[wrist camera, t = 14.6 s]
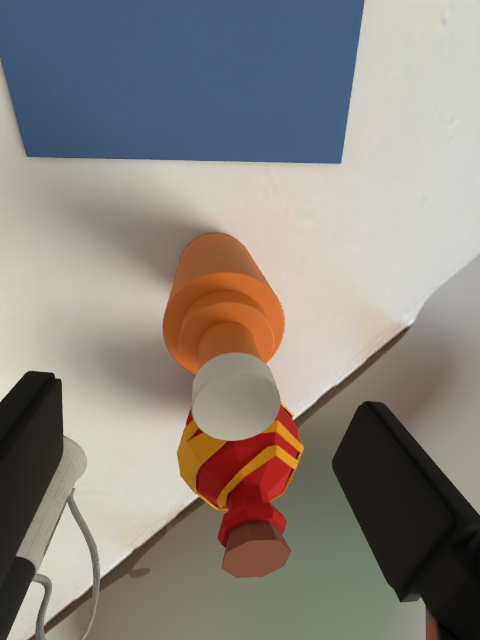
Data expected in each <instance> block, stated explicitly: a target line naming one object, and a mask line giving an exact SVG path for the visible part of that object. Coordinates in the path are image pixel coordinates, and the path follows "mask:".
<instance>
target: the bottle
mask: <svg viewBox="0 0 480 640" xmlns="http://www.w3.org/2000/svg"><path fill="white" fill-rule="evenodd" d="M284 327H285V319H284V313H283V309H282V306H281V304H280V302H279V300H278V298H277V296H276V295H275V293H274V292H273V290H272V288H271V287H270V285H269V284H268V282H267V281H266V279H265V277H264V276H263V274H262V273H261V271H260V270H259V268H258V266H257V265H256V263H255V262H254V260H253V259H252V257H251V255H250V254H249V252H248V251H247V249H246V248H245V246H244V245H243V244H242V243H241V242H239V241H238V240H237V239H235V238H233V237H231V236H229V235H226V234H221V233H210V234H205V235H202V236H200V237H198V238H196V239H195V240H193V241H192V242H191V243H190V244H189V245H188V246H187V247H186V248H185V250H184V251H183V253H182V256H181V258H180V262H179V265H178V269H177V272H176V276H175V279H174V283H173V286H172V290H171V293H170V296H169V300H168V303H167V307H166V310H165V314H164V319H163V336H164V340H165V344H166V346H167V348H168V350H169V352H170V354H171V355H172V357H173V358H174V359H175V360H176V361H177V362H178V363H179V364H180V365H181V366H182V367H183V368H185V369H186V370H187V371H189V372H191V373H193V374H195V375H196V376H195V378H194V381H193V388H192V416H193V419H194V421H195V423H196V424H197V426H198V427H199V428H200V429H201V430H202V431H203V432H204V433H206V434H208V435H209V436H211V437H214V438H217V439H221V440H227V441H236V440H243V439H247V438H250V437H253V436H255V435H258V434H259V433H261V432H263V431H264V430H265V429H267V428H268V427H269V426H270V425H271V424H272V423H273V421H274V420H275V419H276V417H277V415H278V412H279V409H280V395H279V392H278V389H277V386H276V384H275V381H274V378H273V375H272V373H271V370H270V369H269V367H268V366H267V365H266V363H267V362H268V361H269V360H270V359H271V358H272V357H273V355H274V354H275V353H276V351H277V349H278V348H279V346H280V343H281V341H282V338H283V334H284Z"/></svg>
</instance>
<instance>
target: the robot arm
mask: <svg viewBox="0 0 480 640" xmlns="http://www.w3.org/2000/svg"><path fill="white" fill-rule="evenodd" d="M63 449H64V446H63V413H62V383H61V379H55V375H54V373H49V372H38V371H28V372H27V373H25V374H24V376H23V377H22V378H21V379H20V380H19V381H18V382H17V384H16V385H15V386H14V387H13V388H12V389H11V390H10V392H9V393H8V394H7V395H6V396H5V397H4V398H3V400H2V401H1V402H0V588H1V586H2V583H3V581H4V579H5V577H6V575H7V573H8V571H9V569H10V567H11V565H12V562H13V560H14V558H15V556H16V554H17V552H18V550H19V548H20V546H21V544H22V541H23V539H24V537H25V535H26V533H27V531H28V529H29V527H30V525H31V523H32V520H33V518H34V516H35V514H36V512H37V510H38V508H39V506H40V504H41V502H42V500H43V497H44V495H45V493H46V491H47V489H48V487H49V485H50V483H51V481H52V479H53V476H54V474H55V472H56V470H57V468H58V466H59V464H60V461H61V459H62V455H63ZM332 467H333V471H334V473H335V475H336V477H337V479H338V481H339V483H340V485H341V487H342V489H343V491H344V494H345V496H346V498H347V500H348V502H349V504H350V506H351V508H352V510H353V512H354V514H355V517H356V519H357V521H358V523H359V525H360V527H361V529H362V531H363V533H364V535H365V537H366V540H367V542H368V544H369V546H370V548H371V550H372V552H373V554H374V556H375V558H376V560H377V562H378V565H379V567H380V569H381V571H382V573H383V575H384V577H385V579H386V581H387V583H388V584H389V585H390V586H391V587H392V588H393V589H394V590H395V592H396V595H397V597H398V598H399V601H400V602H411V601H417V600H418V599H419V598H420V597H421V598H422V599H423V601H424V603H425V605H426V640H480V515H479V514H478V513H477V512H476V511H475V509H474V508H473V507H472V506H471V505H470V503H469V502H468V501H467V500H466V499H465V498H464V496H462V494H461V493H460V492H459V491H458V489H457V488H456V487H455V486H454V485H453V484H452V482H451V481H450V480H449V479H448V478H447V477H446V475H445V474H444V473H443V472H442V471H441V470H440V468H439V467H438V466H437V465H436V464H435V462H434V461H433V460H432V459H431V458H430V457H429V455H428V454H427V453H426V452H425V451H424V450H423V449H422V447H421V446H420V445H419V444H418V442H417V441H416V440H415V439H414V438H413V437H412V435H411V434H410V433H409V432H408V431H407V430H406V428H405V427H404V426H403V425H402V424H401V423H400V421H399V420H398V419H397V418H396V417H395V416H394V414H393V413H392V412H391V411H390V410H389V408H388V407H387V406H386V405H385V404H384V403H381V402H372V401H365V402H363V404H362V405H360V406H359V407H358V408H357V411H356V413H355V414H354V417H353V418H352V421H351V423H350V425H349V427H348V429H347V431H346V433H345V435H344V437H343V439H342V441H341V443H340V445H339V447H338V449H337V451H336V453H335V455H334V457H333V460H332Z"/></svg>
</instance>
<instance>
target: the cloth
mask: <svg viewBox="0 0 480 640" xmlns="http://www.w3.org/2000/svg"><path fill="white" fill-rule="evenodd" d="M363 7H364V0H0V57H1V61H2V65H3V68H4V72H5V76H6V80H7V83H8V87H9V91H10V95H11V98H12V102H13V106H14V110H15V113H16V117H17V121H18V125H19V128H20V132H21V136H22V140H23V144H24V147H25V151H26V155H27V157H61V158H107V159H153V160H199V161H245V162H291V163H337V164H339V163H341V159H342V153H343V146H344V139H345V132H346V125H347V118H348V111H349V104H350V97H351V90H352V83H353V76H354V69H355V62H356V55H357V48H358V41H359V34H360V27H361V21H362V14H363Z"/></svg>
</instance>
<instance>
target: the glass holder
mask: <svg viewBox="0 0 480 640" xmlns="http://www.w3.org/2000/svg"><path fill="white" fill-rule="evenodd" d="M63 446H64V449H63V455H62V459H61V461H60V464H59V466H58V468H57V470H56V472H55V474H54V476H53V479H52V481H51V483H50V485H49V487H48V489H47V491H46V493H45V495H44V497H43V500H42V502H41V504H40V506H39V508H38V510H37V512H36V514H35V516H34V518H33V520H32V523H31V525H30V527H29V529H28V531H27V533H26V535H25V537H24V539H23V541H22V544H21V546H20V548H19V550H18V552H17V554H16V556H15V558H14V560H13V562H12V565H11V567H10V569H9V571H8V573H7V575H6V577H5V579H4V581H3V583H2V586H1V588H0V640H6V639H7V637H8V635H9V632H10V630H11V628H12V625H13V623H14V620H15V618H16V616H17V613H18V611H19V609H20V606H21V604H22V602H23V599H24V597H25V595H26V592H27V590H28V588H29V585H30V583H31V582H32V581H34V582H38V583H41V584H42V585H43V586H44V588H45V595H44V598H43V601H42V604H41V607H40V609H39V613H38V617H37V621H36V632H35V635H36V640H46V639H45V634H44V629H43V627H44V616H45V612H46V608H47V605H48V602H49V599H50V595H51V591H52V583H51V580H50V579H49V578H48V577H46V576H44V575H41V574H37V572H38V570H39V567H40V565H41V563H42V560H43V558H44V556H45V553H46V551H47V548H48V546H49V544H50V541H51V539H52V537H53V534H54V532H55V529H56V527H57V525H58V522H59V520H60V518H61V515H62V513H63V510H64V508H65V506H66V503H67V502H68V505H69V508H70V510H71V512H72V514H73V516H74V518H75V520H76V522H77V524H78V525H79V527H80V529H81V531H82V533H83V535H84V537H85V539H86V542H87V544H88V547H89V550H90V553H91V559H92V565H93V578H94V580H93V595H92V601H91V606H90V611H89V616H88V620H87V622H86V625H85V628H84V631H83V633H82V635H81V636H80V638H79V639H78V640H84V638H85V637H86V635H87V634H88V632H89V630H90V627H91V624H92V621H93V618H94V615H95V611H96V605H97V601H98V596H99V584H100V568H99V558H98V551H97V547H96V544H95V542H94V539H93V537H92V535H91V533H90V531H89V529H88V527H87V525H86V523H85V521H84V519H83V517H82V516H81V514H80V512H79V510H78V508H77V506H76V504H75V502H74V499H73V493H74V491H75V488H73V487H74V484H75V482H76V481H77V480H78V479H79V478H80V477H81V476H82V474H83V473H84V471H85V469H86V465H87V460H86V456H85V454H84V452H83V450H82V449H81V448H80V447H79V446H78V445H77V444H76V443H75V442H73V441H72V440H70V439H68V438H66V437H64V436H63Z"/></svg>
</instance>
